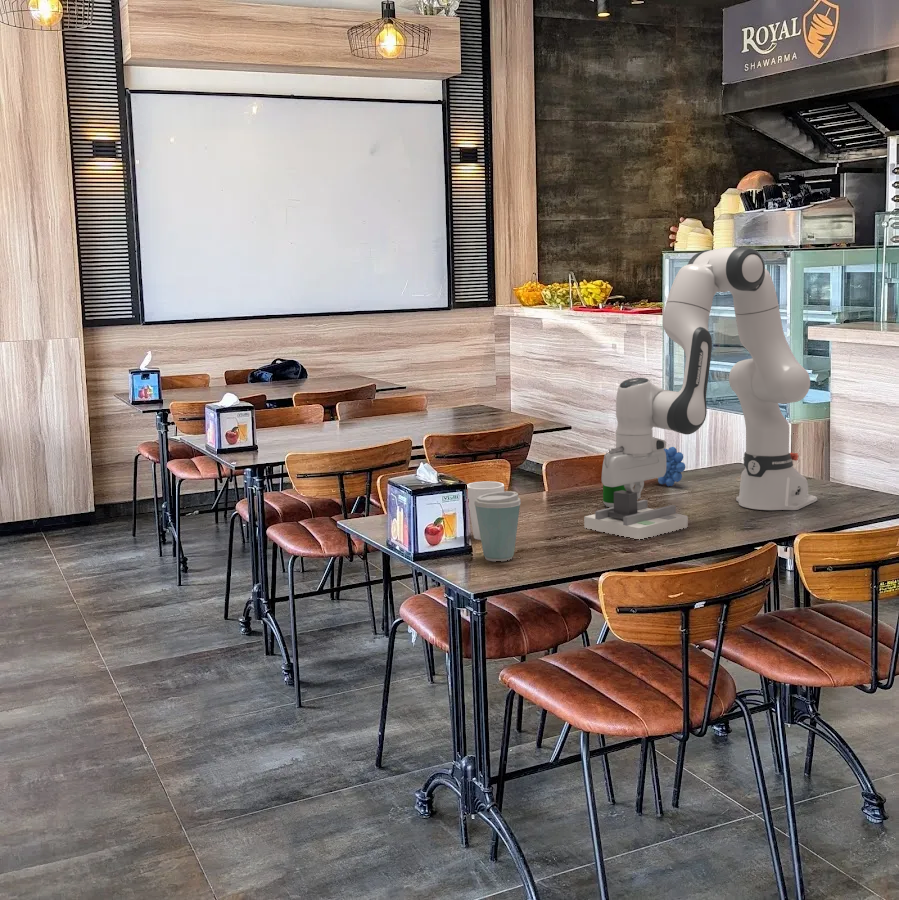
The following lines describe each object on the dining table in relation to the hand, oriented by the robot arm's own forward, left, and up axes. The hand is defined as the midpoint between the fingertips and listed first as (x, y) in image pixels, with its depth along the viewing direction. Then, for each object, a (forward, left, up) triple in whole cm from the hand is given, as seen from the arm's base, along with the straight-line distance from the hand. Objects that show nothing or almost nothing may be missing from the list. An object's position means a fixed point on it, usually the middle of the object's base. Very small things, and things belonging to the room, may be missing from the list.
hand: (634, 499), depth 275 cm
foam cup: (+31, -20, -8) cm, 38 cm away
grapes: (-47, -27, -8) cm, 54 cm away
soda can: (-16, -20, -8) cm, 26 cm away
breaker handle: (+3, 0, -4) cm, 5 cm away
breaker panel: (-1, 0, -7) cm, 7 cm away
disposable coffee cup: (+42, -3, -8) cm, 43 cm away
